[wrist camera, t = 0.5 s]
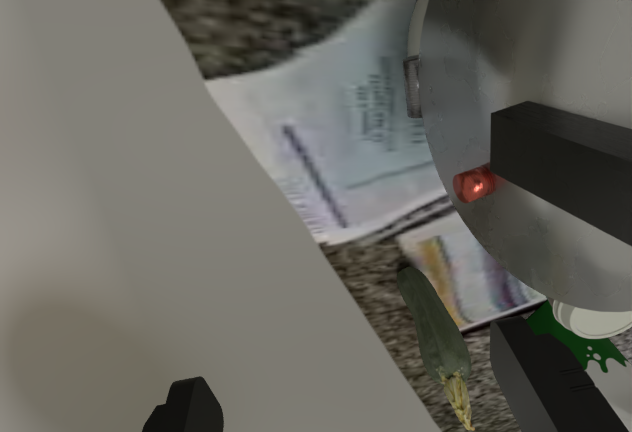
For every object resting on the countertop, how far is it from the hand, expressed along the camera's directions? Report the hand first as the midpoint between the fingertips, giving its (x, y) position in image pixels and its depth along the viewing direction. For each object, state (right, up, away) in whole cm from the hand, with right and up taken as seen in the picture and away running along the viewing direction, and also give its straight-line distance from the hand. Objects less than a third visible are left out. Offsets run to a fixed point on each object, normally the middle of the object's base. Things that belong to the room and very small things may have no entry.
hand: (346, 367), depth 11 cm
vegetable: (+11, -2, +38) cm, 40 cm away
